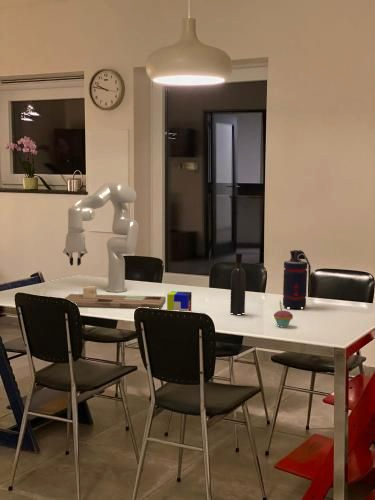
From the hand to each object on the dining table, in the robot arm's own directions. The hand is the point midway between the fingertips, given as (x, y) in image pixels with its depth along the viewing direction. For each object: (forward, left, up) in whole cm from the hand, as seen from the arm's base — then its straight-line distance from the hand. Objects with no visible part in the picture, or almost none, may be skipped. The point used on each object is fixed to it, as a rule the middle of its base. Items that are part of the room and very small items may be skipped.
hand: (75, 265), depth 357 cm
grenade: (+3, +117, -19) cm, 119 cm away
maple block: (0, +8, -17) cm, 19 cm away
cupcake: (+49, +107, -19) cm, 119 cm away
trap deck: (+6, +22, -19) cm, 30 cm away
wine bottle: (+25, +86, -19) cm, 92 cm away
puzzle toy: (+26, +58, -20) cm, 66 cm away
